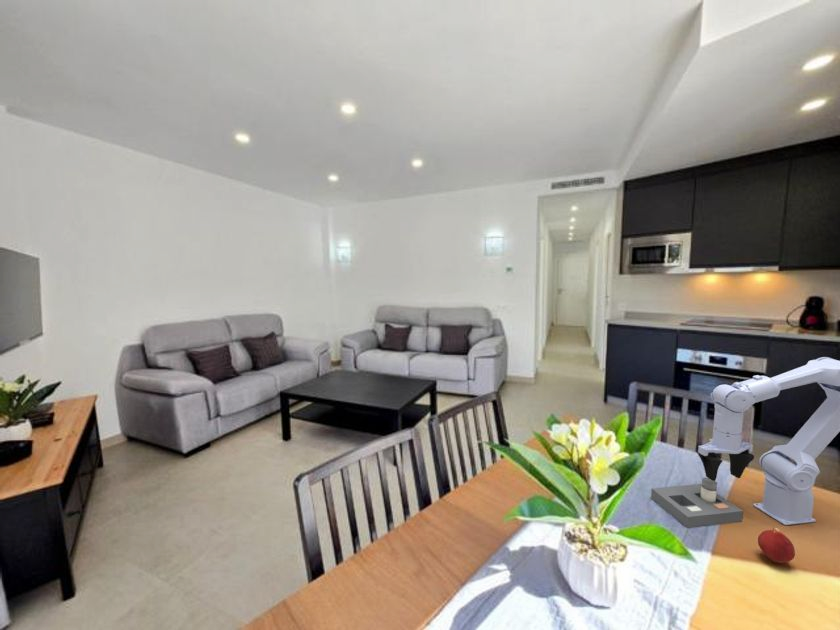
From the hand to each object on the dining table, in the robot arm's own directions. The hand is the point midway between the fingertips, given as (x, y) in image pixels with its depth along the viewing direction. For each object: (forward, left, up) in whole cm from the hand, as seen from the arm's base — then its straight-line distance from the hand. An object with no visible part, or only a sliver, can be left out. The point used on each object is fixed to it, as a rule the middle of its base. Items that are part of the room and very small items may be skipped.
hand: (723, 477), depth 95 cm
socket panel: (+7, -1, -9) cm, 12 cm away
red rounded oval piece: (+5, +17, -10) cm, 20 cm away
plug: (+3, -1, -9) cm, 10 cm away
